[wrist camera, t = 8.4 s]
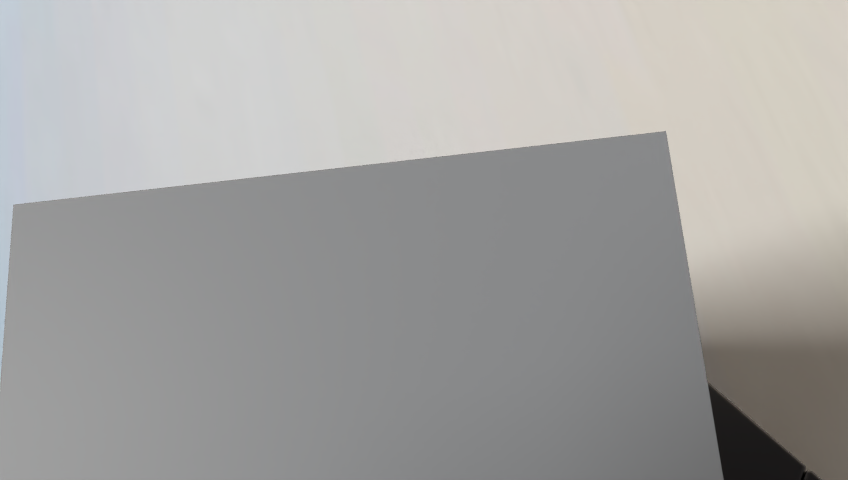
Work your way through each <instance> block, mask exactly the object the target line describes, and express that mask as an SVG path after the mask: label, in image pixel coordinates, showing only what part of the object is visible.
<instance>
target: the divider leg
mask: <svg viewBox="0 0 848 480" xmlns="http://www.w3.org/2000/svg"><path fill="white" fill-rule="evenodd" d="M0 480H724V479H723V473H722V467H721V461H720V455H719V449H718V443H717V437H716V431H715V425H714V419H713V413H712V407H711V401H710V395H709V389H708V383H707V377H706V371H705V365H704V358H703V352H702V346H701V340H700V334H699V328H698V322H697V316H696V310H695V304H694V298H693V292H692V286H691V280H690V274H689V268H688V262H687V256H686V250H685V244H684V238H683V232H682V226H681V219H680V213H679V207H678V201H677V195H676V189H675V183H674V177H673V171H672V165H671V159H670V153H669V147H668V141H667V135H666V131H664V132H655V133H646V134H637V135H628V136H619V137H611V138H602V139H593V140H584V141H575V142H566V143H557V144H548V145H540V146H531V147H522V148H513V149H504V150H495V151H486V152H477V153H468V154H460V155H451V156H442V157H433V158H424V159H415V160H406V161H397V162H389V163H380V164H371V165H362V166H353V167H344V168H335V169H326V170H318V171H309V172H300V173H291V174H282V175H273V176H264V177H255V178H246V179H238V180H229V181H220V182H211V183H202V184H193V185H184V186H175V187H167V188H158V189H149V190H140V191H131V192H122V193H113V194H104V195H96V196H87V197H78V198H69V199H60V200H51V201H42V202H33V203H24V204H16V205H13V218H12V232H11V245H10V259H9V273H8V286H7V300H6V314H5V327H4V341H3V355H2V368H1V382H0Z"/></svg>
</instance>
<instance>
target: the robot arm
mask: <svg viewBox="0 0 848 480" xmlns="http://www.w3.org/2000/svg"><path fill="white" fill-rule="evenodd" d="M707 383H708V382H707ZM708 389H709V395H710V401H711V407H712V413H713V419H714V425H715V431H716V437H717V443H718V449H719V455H720V461H721V467H722V473H723V479H724V480H822V479H820V478H819V477H818V476H817V475H816V474H815V473H813V472H812V471H806V467H805V465H804V464H803V463H801V462H800V461H799V460H798V459H797V458H796V457H794V456H793V455H792V454H791V453H790V452H789V451H787V450H786V449H785V448H784V447H783V446H782V445H780V444H779V443H778V442H777V441H776V440H775V439H773V438H772V437H771V436H770V435H769V434H768V433H767V432H765V431H764V430H763V429H762V428H761V427H760V426H758V425H757V424H756V423H755V422H754V421H753V420H751V419H750V418H749V417H748V416H747V415H746V414H744V413H743V412H742V411H741V410H740V409H739V408H737V407H736V406H735V405H734V404H733V403H732V402H730V401H729V400H728V399H727V398H726V397H725V396H724V395H722V394H721V393H720V392H719V391H718V390H717V389H715V388H714V387H713V386H712V385H711V384H710V383H708Z"/></svg>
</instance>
